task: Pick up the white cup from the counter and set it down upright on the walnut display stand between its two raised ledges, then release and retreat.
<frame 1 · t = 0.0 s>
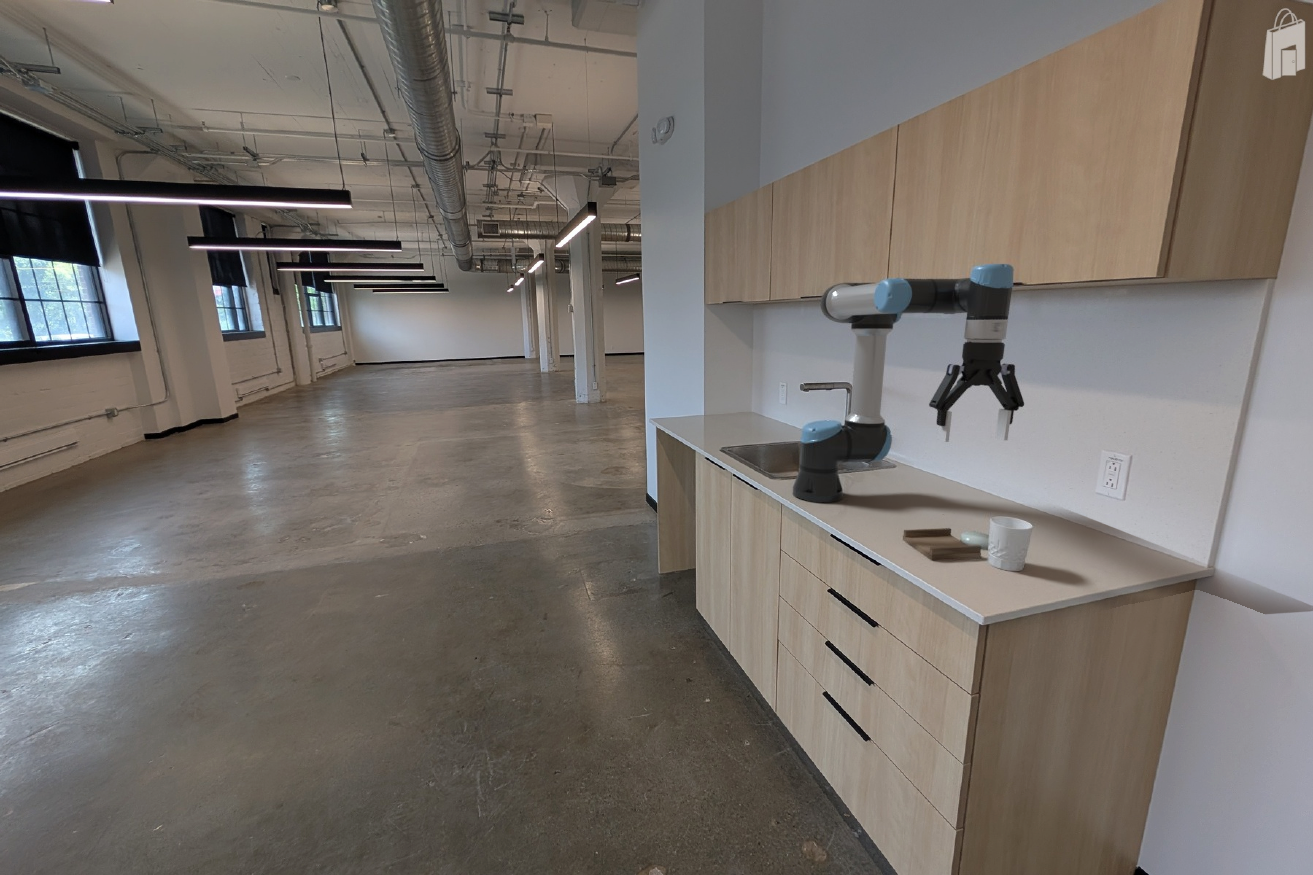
hand: (972, 440, 118), 28 cm above the worktop, tool pointing down, fingers open, 13 cm apart
stand: (939, 548, 129), on the worktop
pale mint domed disc: (976, 544, 133), on the worktop
white cup: (1005, 565, 121), on the worktop
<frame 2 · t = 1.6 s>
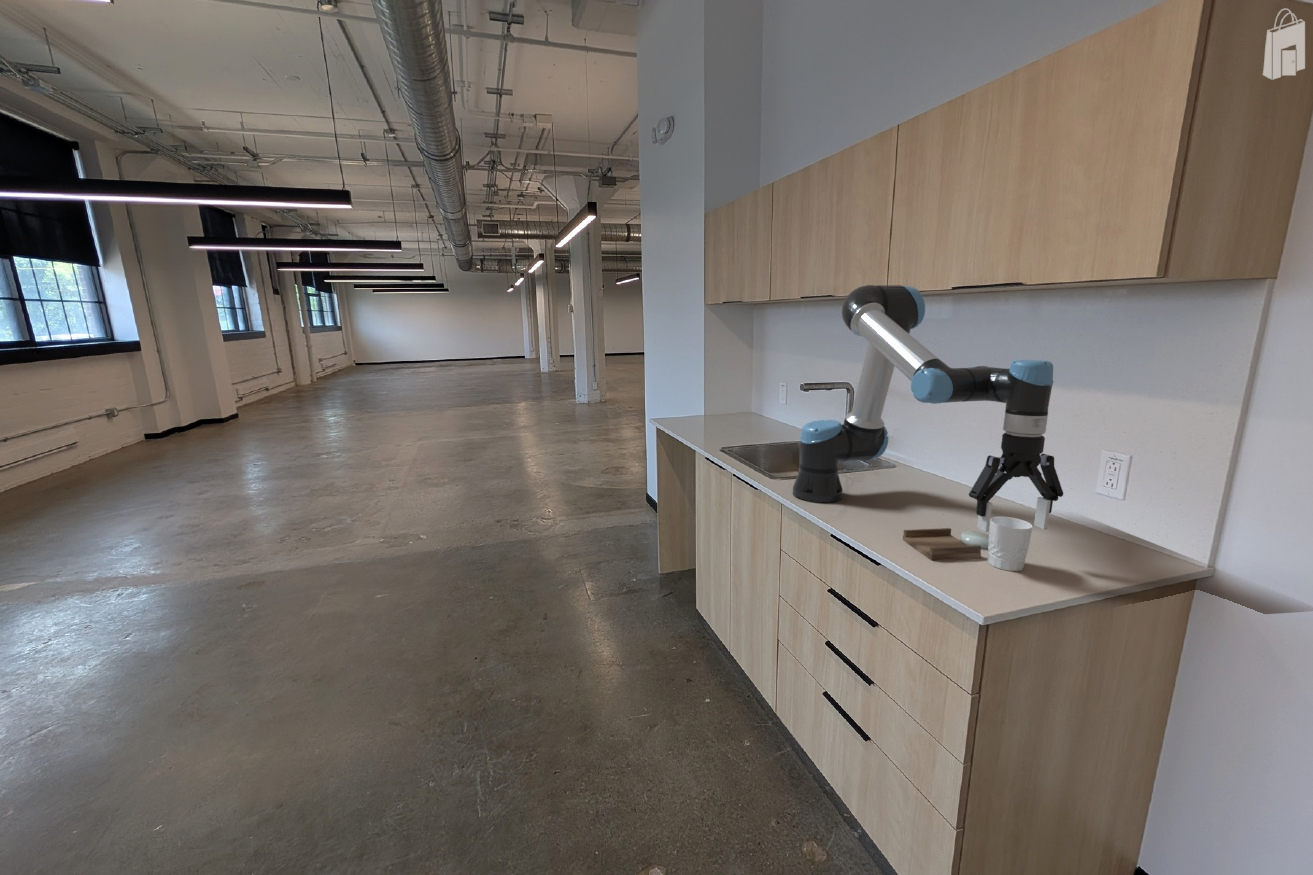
hand: (1011, 528, 119), 9 cm above the worktop, tool pointing down, fingers open, 13 cm apart
nothing on the worktop moved.
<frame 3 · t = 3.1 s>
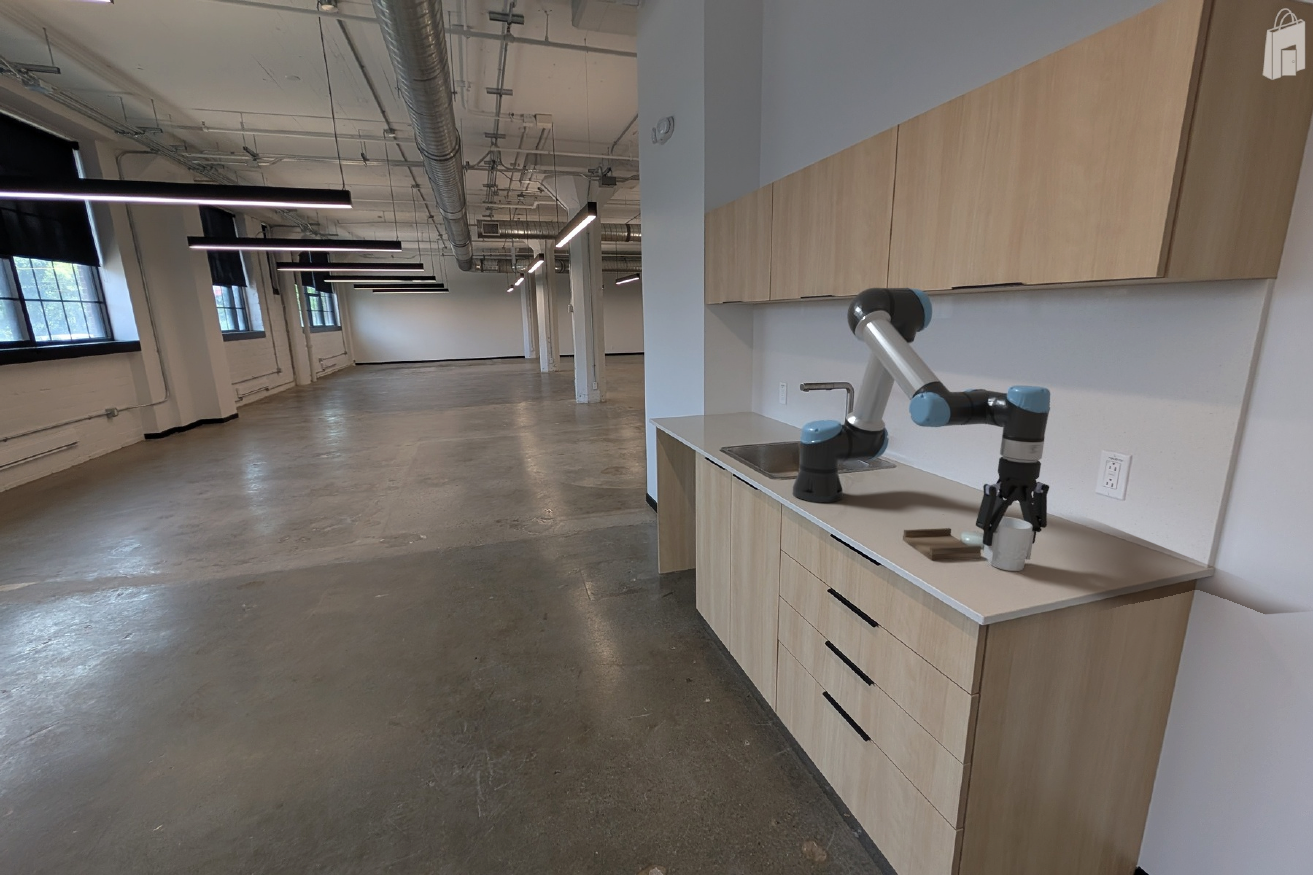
hand: (1006, 557, 120), 2 cm above the worktop, tool pointing down, fingers closed on white cup, 8 cm apart
white cup: (1005, 565, 121), on the worktop, touching gripper
everything else where it was.
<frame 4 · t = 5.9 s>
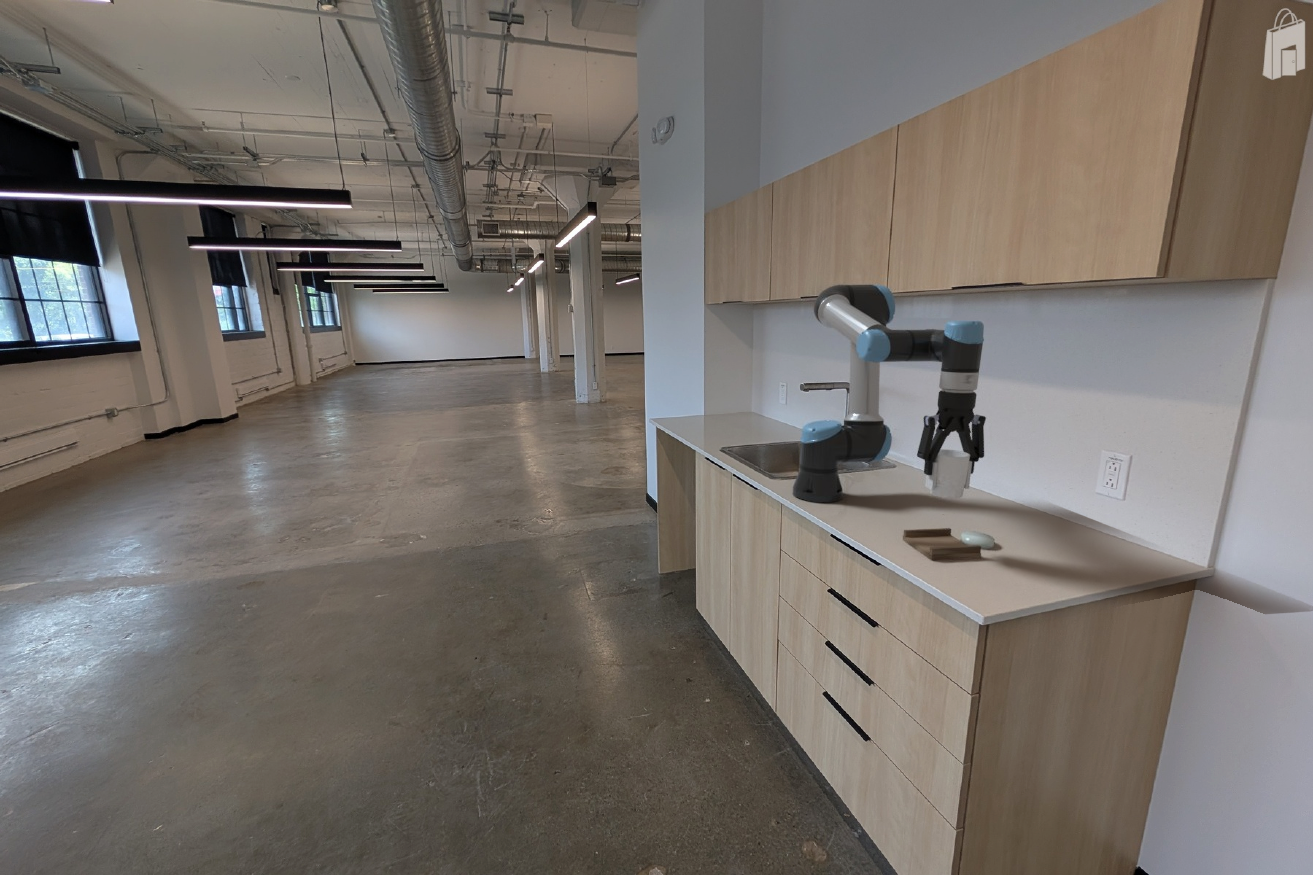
hand: (946, 487, 126), 15 cm above the worktop, tool pointing down, fingers closed on white cup, 8 cm apart
white cup: (946, 495, 127), point 13 cm above the worktop, touching gripper
everything else where it was.
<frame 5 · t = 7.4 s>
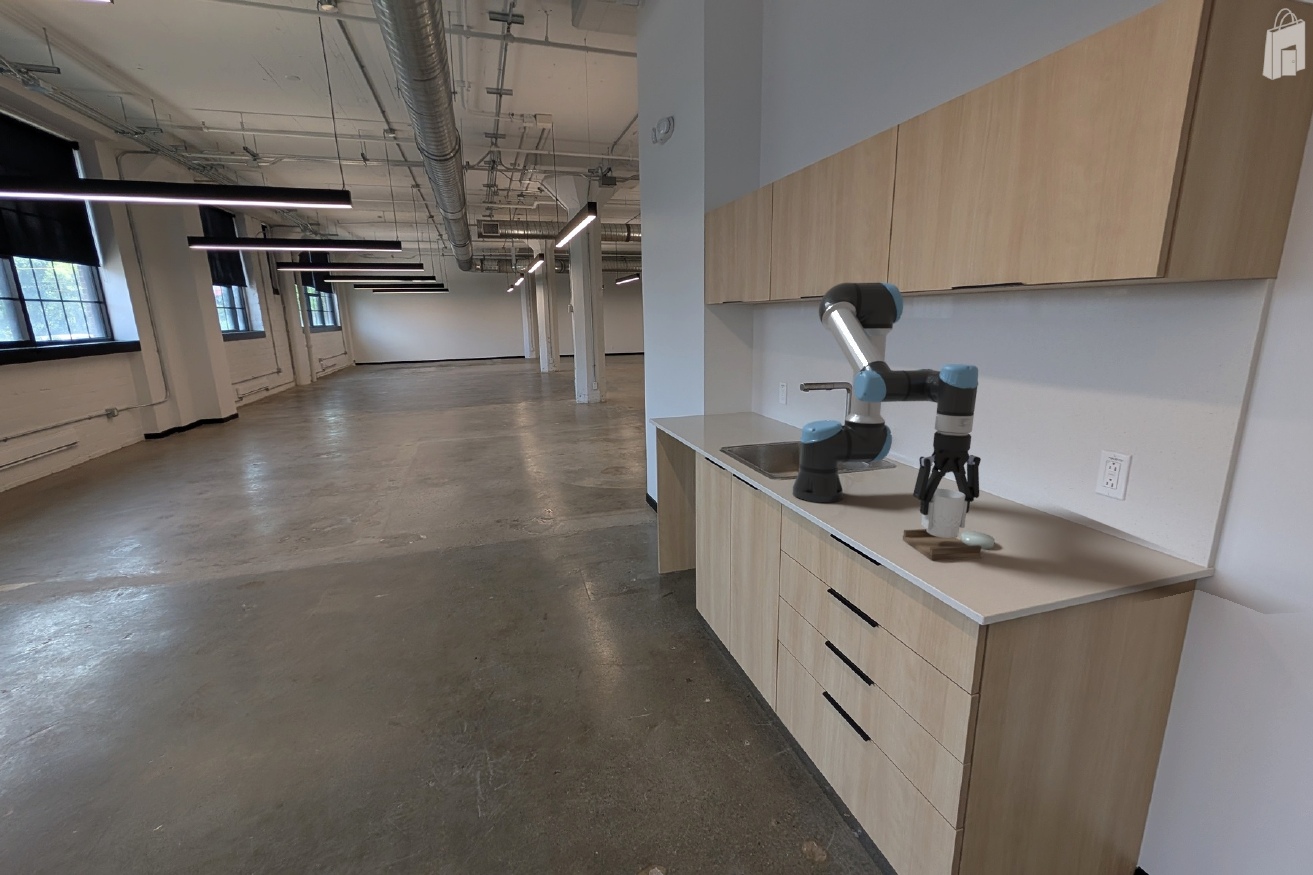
hand: (942, 526, 128), 6 cm above the worktop, tool pointing down, fingers closed on white cup, 8 cm apart
white cup: (941, 533, 129), point 4 cm above the worktop, touching gripper
everything else where it was.
when the fingers open (4 cm above the worktop, at t = 8.6 s): white cup drops 1 cm, resting on stand.
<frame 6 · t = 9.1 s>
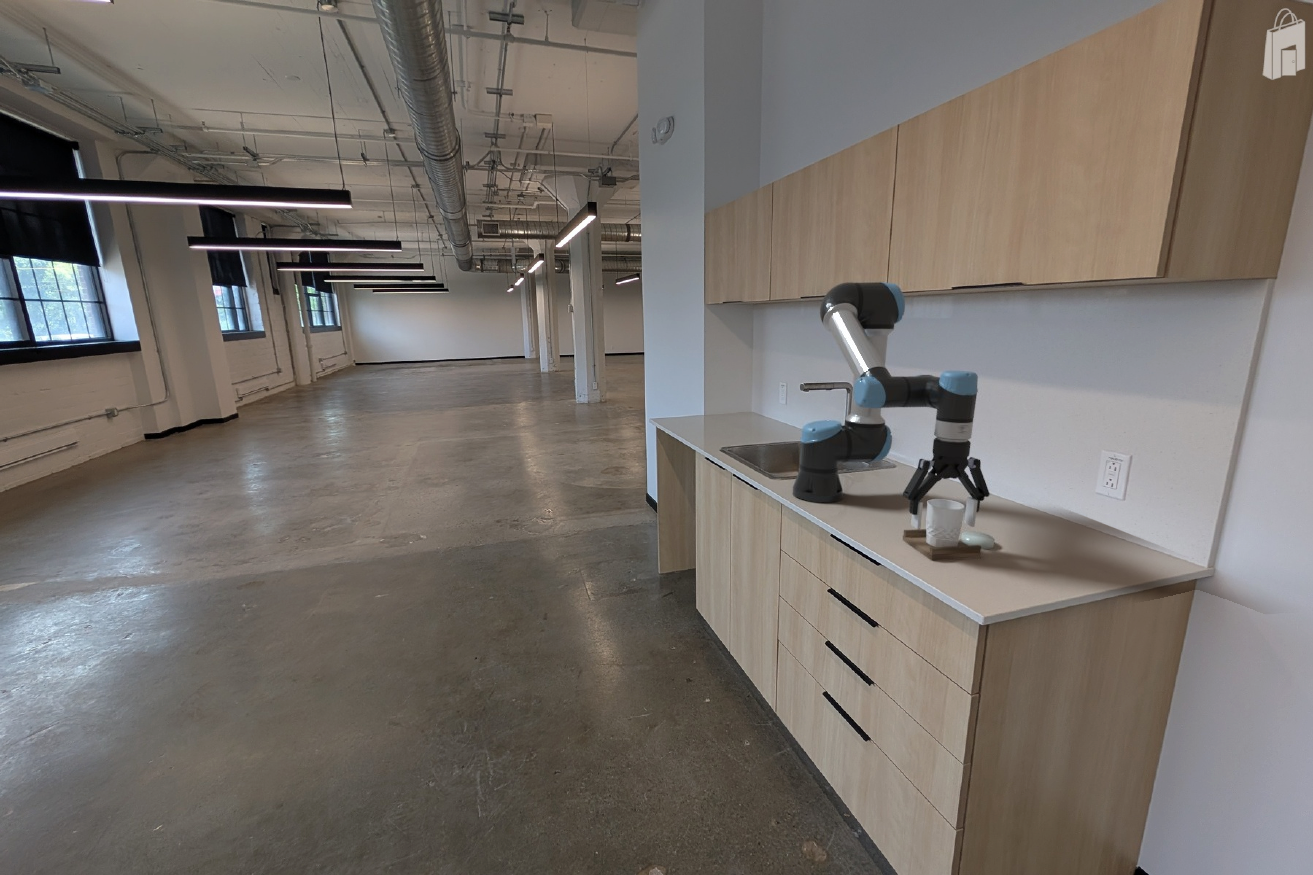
hand: (942, 526, 128), 6 cm above the worktop, tool pointing down, fingers open, 13 cm apart
white cup: (941, 544, 129), point 1 cm above the worktop, touching stand
everything else where it was.
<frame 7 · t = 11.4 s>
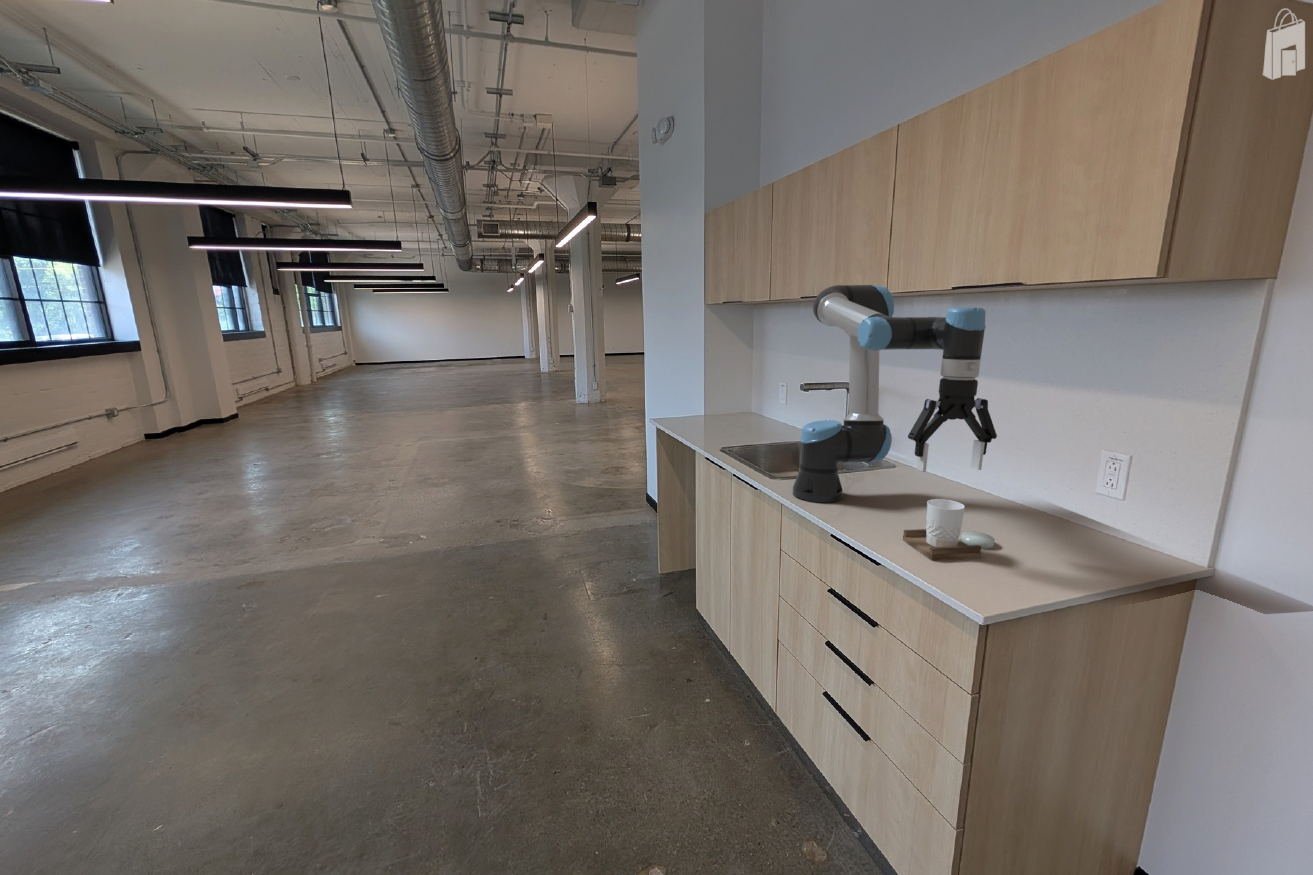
hand: (948, 469, 126), 20 cm above the worktop, tool pointing down, fingers open, 13 cm apart
nothing on the worktop moved.
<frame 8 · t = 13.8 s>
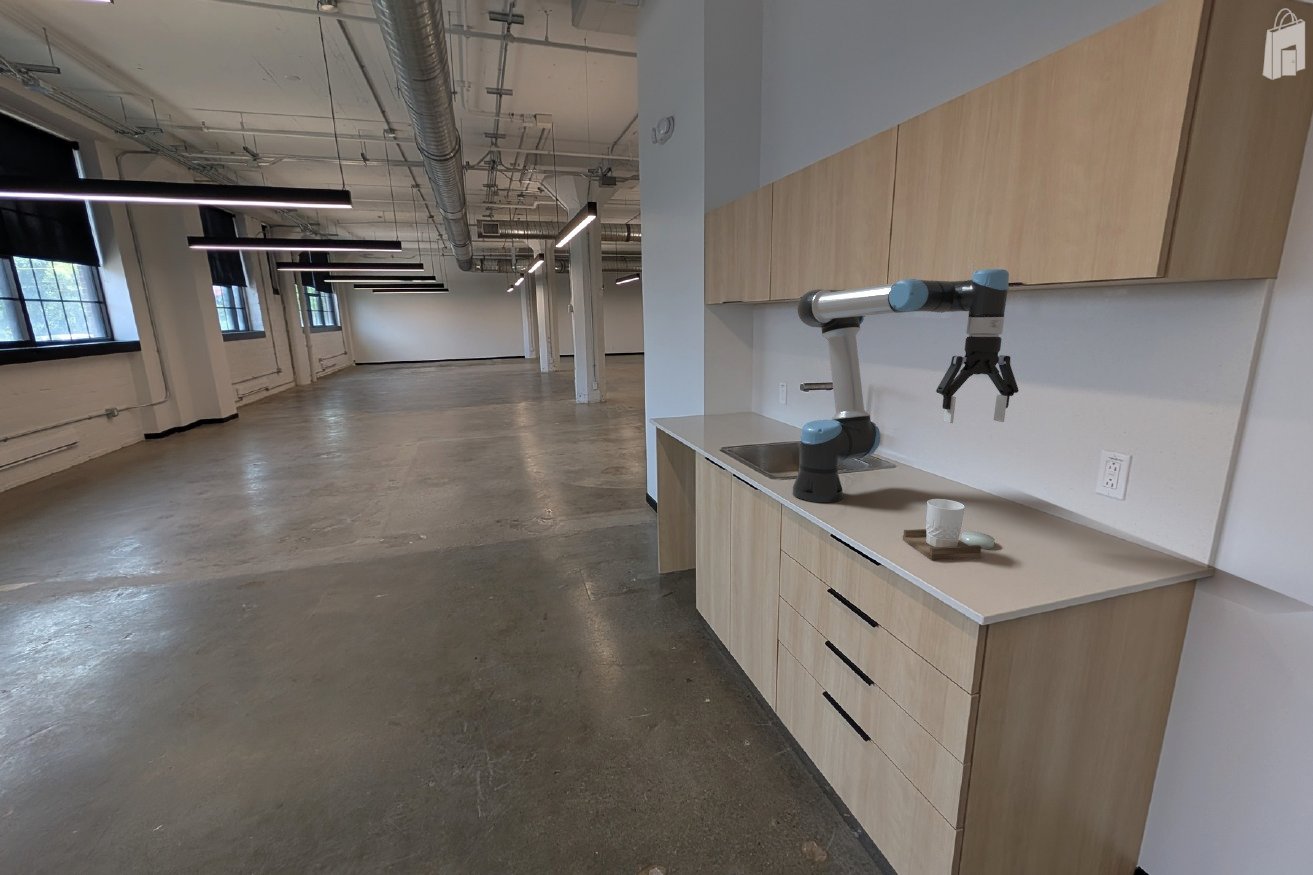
hand: (973, 421, 136), 29 cm above the worktop, tool pointing down, fingers open, 13 cm apart
nothing on the worktop moved.
at the end: white cup 0.2 cm off-centre on the stand, point 1.0 cm above the stand's base; white cup tilted 0°; the gripper is holding nothing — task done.
